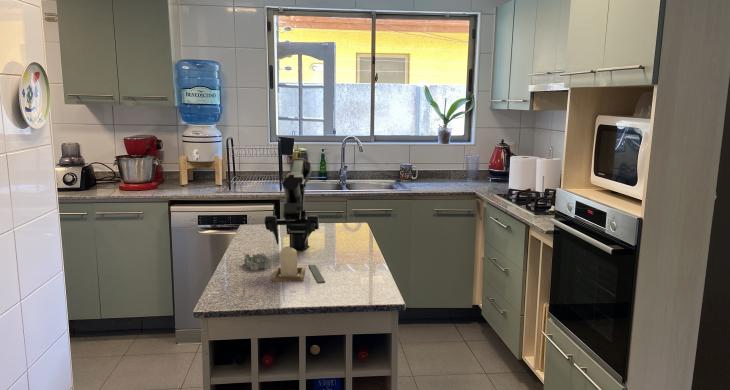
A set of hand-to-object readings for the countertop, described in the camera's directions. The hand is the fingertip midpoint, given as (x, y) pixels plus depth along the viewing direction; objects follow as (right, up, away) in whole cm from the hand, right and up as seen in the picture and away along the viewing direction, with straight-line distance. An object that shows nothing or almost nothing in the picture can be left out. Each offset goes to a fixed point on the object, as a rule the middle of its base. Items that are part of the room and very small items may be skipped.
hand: (290, 243), depth 177 cm
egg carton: (-13, -9, +6) cm, 17 cm away
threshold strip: (+9, -10, -3) cm, 14 cm away
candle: (0, -11, -5) cm, 12 cm away
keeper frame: (0, -10, -6) cm, 12 cm away
